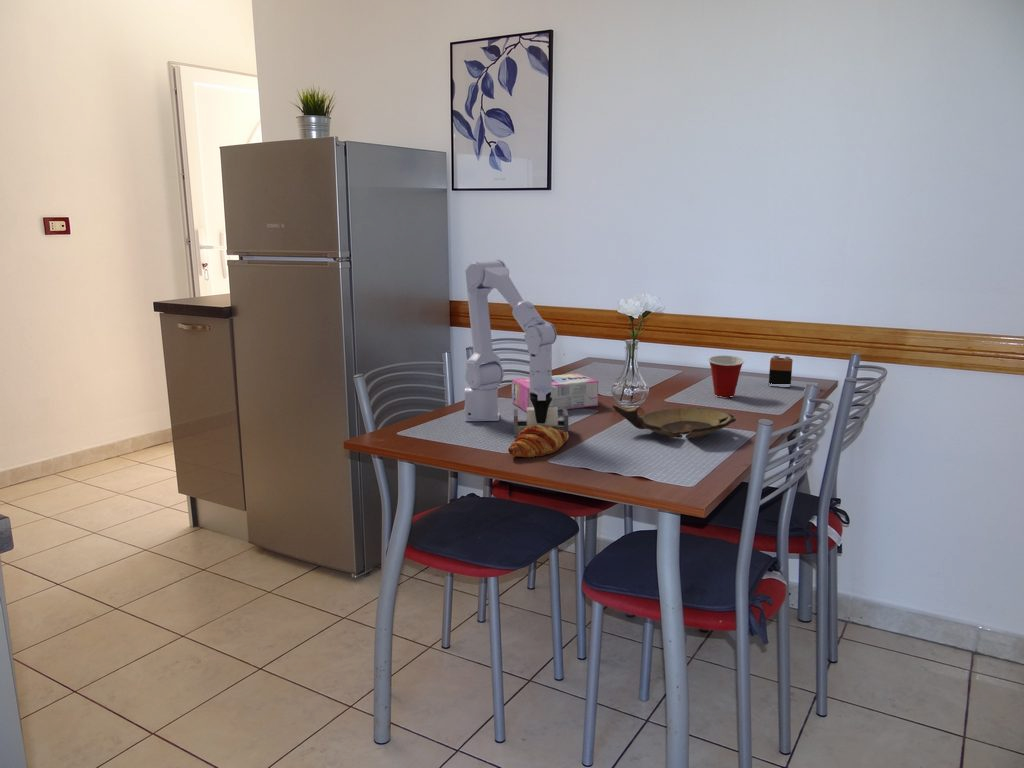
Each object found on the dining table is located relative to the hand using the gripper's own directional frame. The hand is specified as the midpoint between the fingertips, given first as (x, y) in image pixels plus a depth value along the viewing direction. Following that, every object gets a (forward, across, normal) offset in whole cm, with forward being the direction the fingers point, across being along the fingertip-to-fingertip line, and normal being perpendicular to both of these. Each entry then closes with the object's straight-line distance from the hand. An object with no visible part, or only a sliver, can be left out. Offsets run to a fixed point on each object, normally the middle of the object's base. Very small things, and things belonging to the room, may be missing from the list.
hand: (540, 421), depth 205 cm
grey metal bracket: (+3, 0, 0) cm, 3 cm away
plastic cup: (+3, +40, -59) cm, 71 cm away
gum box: (-1, +24, -8) cm, 25 cm away
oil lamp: (+4, -1, -35) cm, 35 cm away
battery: (+3, +54, -81) cm, 97 cm away
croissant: (+4, -15, +1) cm, 16 cm away
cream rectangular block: (+3, 0, 0) cm, 3 cm away
